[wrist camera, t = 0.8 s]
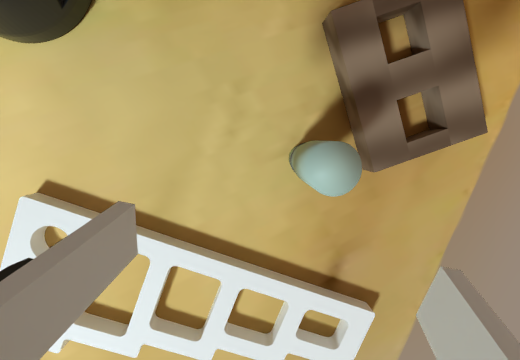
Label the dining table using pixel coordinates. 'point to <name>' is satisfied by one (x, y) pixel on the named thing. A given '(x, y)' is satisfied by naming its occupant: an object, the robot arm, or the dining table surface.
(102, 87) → the dining table surface
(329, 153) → the tapered peg
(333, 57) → the walnut board
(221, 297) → the holder
